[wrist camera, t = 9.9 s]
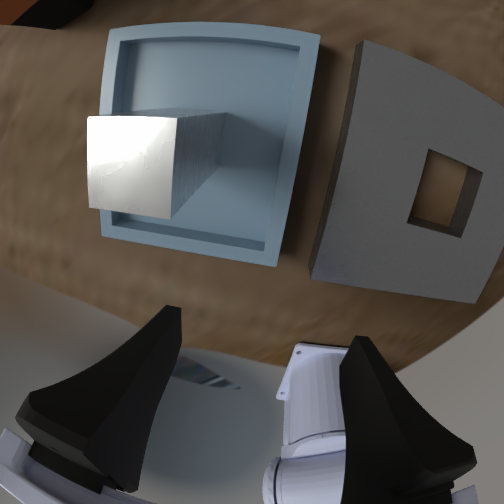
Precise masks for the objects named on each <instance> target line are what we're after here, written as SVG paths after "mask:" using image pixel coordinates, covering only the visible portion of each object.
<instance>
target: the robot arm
mask: <svg viewBox="0 0 504 504" xmlns="http://www.w3.org/2000/svg"><path fill="white" fill-rule="evenodd" d="M181 343H182V330H181V308H179V307H174V306H170V305H166V306H164V307H163V308H162V309H161V310H160V311H159V312H158V313H157V314H156V315H155V316H154V317H153V318H152V319H151V320H150V321H149V322H148V323H147V324H146V325H145V326H144V327H143V328H142V329H140V330H139V331H138V332H137V333H136V334H135V335H134V336H133V337H131V338H130V339H129V340H128V341H126V342H125V343H124V344H123V345H121V346H120V347H119V348H118V349H117V350H115V351H114V352H112V353H111V354H110V355H108V356H107V357H105V358H104V359H102V360H101V361H99V362H98V363H96V364H94V365H93V366H91V367H89V368H87V369H86V370H84V371H82V372H80V373H78V374H76V375H74V376H72V377H70V378H68V379H65V380H64V381H61V382H59V383H56V384H54V385H51V386H48V387H45V388H42V389H39V390H36V391H32V392H30V393H29V395H28V396H27V397H26V399H25V401H24V402H23V404H22V406H21V408H20V409H19V411H18V413H17V415H16V417H15V419H16V421H17V422H18V424H19V425H20V426H21V427H22V428H23V429H24V430H25V431H26V432H27V433H28V434H29V435H30V436H31V437H32V438H33V439H34V442H33V444H32V445H31V444H29V443H28V442H27V441H25V440H24V439H23V438H21V437H20V436H18V435H17V434H15V433H14V432H12V431H11V430H10V429H8V428H5V429H4V431H3V433H2V435H1V436H0V485H1V486H2V487H3V488H4V489H5V490H7V491H8V492H9V493H10V494H12V495H13V496H14V497H16V498H17V499H18V500H19V501H21V502H22V503H23V504H155V503H152V502H149V501H146V500H142V499H139V498H136V497H133V496H130V495H128V494H125V493H122V492H120V491H117V490H116V489H118V490H121V491H123V492H124V491H126V492H128V493H132V492H135V491H137V490H138V486H139V480H140V474H141V468H142V464H143V459H144V455H145V449H146V446H147V442H148V438H149V434H150V430H151V426H152V423H153V419H154V416H155V412H156V410H157V407H158V404H159V402H160V399H161V397H162V395H163V392H164V390H165V388H166V385H167V383H168V380H169V378H170V376H171V373H172V371H173V369H174V366H175V364H176V361H177V357H178V354H179V350H180V347H181ZM298 351H300V352H298ZM276 398H277V399H279V400H285V405H284V406H285V407H284V436H283V442H284V446H282V451H281V453H282V454H281V456H280V457H275V458H274V459H273V460H272V461H271V463H270V464H269V465H268V467H267V469H266V471H265V474H264V479H263V499H264V504H478V499H477V494H476V489H475V486H474V485H472V486H470V487H467V488H465V489H462V490H460V491H457V492H455V493H453V494H451V490H450V489H452V488H454V482H453V481H454V480H456V479H457V478H459V477H461V476H462V475H464V474H465V473H467V472H468V471H470V470H471V469H473V468H474V467H475V465H476V464H477V460H476V457H475V452H474V449H473V446H471V445H470V444H468V443H466V442H465V441H463V440H462V439H460V438H458V437H457V436H455V435H454V434H452V433H451V432H450V431H449V430H447V429H446V428H445V427H443V426H442V425H441V424H440V423H439V422H437V421H436V420H435V419H434V418H433V417H432V416H431V415H429V413H428V412H427V411H426V410H424V409H423V408H422V406H421V405H420V404H419V403H418V402H417V401H416V400H415V399H414V398H413V397H412V395H411V394H410V393H409V392H408V391H407V389H406V388H405V387H404V386H403V384H402V383H401V382H400V381H399V379H398V378H397V377H396V375H395V374H394V372H393V371H392V370H391V368H390V367H389V365H388V364H387V363H386V361H385V360H384V358H383V357H382V355H381V354H380V352H379V351H378V350H377V348H376V347H375V345H374V344H373V342H372V341H371V340H370V338H369V337H366V336H356V335H355V337H354V339H353V341H352V343H351V345H350V347H349V348H341V347H332V346H322V345H314V344H306V343H298V344H296V345H295V348H294V350H293V353H292V356H291V359H290V361H289V364H288V366H287V369H286V372H285V374H284V377H283V379H282V382H281V385H280V387H279V389H278V392H277V394H276Z"/></svg>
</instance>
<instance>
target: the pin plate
mask: <svg viewBox="0 0 504 504" xmlns="http://www.w3.org/2000/svg"><path fill="white" fill-rule="evenodd" d="M428 149H431V150H433V151H436V152H438V153H441V154H443V155H446V156H448V157H450V158H453V159H455V160H457V161H459V162H462V163H464V164H466V165H468V166H469V167H468V170H467V174H466V177H465V181H464V184H463V188H462V191H461V194H460V197H459V200H458V203H457V206H456V209H455V212H454V215H453V218H452V220H451V223H450V226H449V227H447V226H443V225H440V224H437V223H433V222H430V221H426V220H423V219H419V218H415V217H412V216H409V214H410V211H411V208H412V205H413V202H414V199H415V195H416V192H417V189H418V186H419V182H420V179H421V175H422V172H423V168H424V164H425V160H426V156H427V152H428ZM503 247H504V107H502V106H501V105H500V104H498V103H497V102H495V101H494V100H492V99H491V98H489V97H487V96H486V95H484V94H483V93H481V92H479V91H478V90H476V89H474V88H473V87H471V86H469V85H468V84H466V83H464V82H462V81H461V80H459V79H457V78H455V77H453V76H451V75H449V74H447V73H446V72H444V71H442V70H440V69H437V68H435V67H433V66H431V65H429V64H427V63H425V62H423V61H420V60H418V59H416V58H413V57H411V56H409V55H406V54H404V53H401V52H399V51H396V50H393V49H391V48H388V47H385V46H382V45H380V44H377V43H374V42H371V41H368V40H363V41H361V42H360V43H359V44H357V45H356V48H355V55H354V61H353V67H352V73H351V79H350V85H349V91H348V96H347V102H346V107H345V112H344V117H343V122H342V127H341V132H340V137H339V142H338V147H337V151H336V156H335V160H334V165H333V169H332V174H331V178H330V182H329V186H328V191H327V195H326V199H325V203H324V207H323V211H322V215H321V219H320V223H319V227H318V230H317V234H316V238H315V242H314V245H313V249H312V253H311V256H310V260H309V264H308V266H309V273H310V279H312V280H318V281H324V282H331V283H337V284H343V285H350V286H356V287H362V288H369V289H375V290H382V291H389V292H395V293H402V294H409V295H416V296H422V297H429V298H437V299H444V300H451V301H458V302H465V303H473V304H475V303H476V301H477V299H478V298H479V296H480V294H481V292H482V290H483V288H484V287H485V285H486V283H487V281H488V279H489V277H490V275H491V273H492V271H493V269H494V267H495V264H496V262H497V260H498V258H499V256H500V254H501V251H502V249H503Z"/></svg>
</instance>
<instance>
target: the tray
mask: <svg viewBox="0 0 504 504" xmlns="http://www.w3.org/2000/svg"><path fill="white" fill-rule="evenodd" d="M319 42H320V35H317V34H312V33H307V32H302V31H297V30H291V29H285V28H278V27H271V26H263V25H253V24H242V23H225V22H174V23H158V24H147V25H137V26H129V27H122V28H116V29H110V32H109V37H108V43H107V49H106V56H105V62H104V70H103V78H102V88H101V99H100V113H99V115H104V114H111V113H119V112H127V111H137V110H147V109H160V108H185V109H199V110H211V111H221V112H226V119H225V127H224V134H223V142H222V149H221V157H220V166H219V168H218V169H217V170H216V171H215V172H214V173H213V174H212V175H211V176H210V177H209V178H208V179H207V180H206V181H205V182H204V183H203V185H202V186H201V187H200V188H199V189H198V190H197V191H196V192H195V193H194V194H193V195H192V196H191V197H190V199H189V200H188V201H187V202H186V203H185V204H184V205H183V206H182V207H181V208H180V210H179V211H178V212H177V213H176V214H175V215H174V216H173V217H172V219H171V220H169V219H163V218H156V217H150V216H143V215H137V214H130V213H124V212H117V211H111V210H104V209H100V218H101V230H102V236H105V237H111V238H116V239H121V240H127V241H132V242H138V243H143V244H148V245H154V246H159V247H165V248H170V249H176V250H181V251H187V252H193V253H198V254H204V255H209V256H215V257H221V258H226V259H232V260H238V261H244V262H249V263H255V264H261V265H267V266H273V267H276V266H277V261H278V256H279V252H280V247H281V243H282V238H283V233H284V229H285V224H286V219H287V214H288V210H289V205H290V200H291V195H292V190H293V185H294V180H295V175H296V170H297V165H298V160H299V155H300V150H301V144H302V139H303V134H304V128H305V123H306V118H307V112H308V107H309V101H310V95H311V90H312V84H313V78H314V72H315V66H316V60H317V54H318V48H319Z"/></svg>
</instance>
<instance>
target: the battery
mask: <svg viewBox="0 0 504 504" xmlns="http://www.w3.org/2000/svg"><path fill="white" fill-rule="evenodd" d="M92 4H93V0H0V25H16V26H27V27H37V28H44V29H52V30H56V29H58V28H59V27H61V26H62V25H64V24H65V23H66V22H68V21H69V20H71V19H72V18H74V17H75V16H77V15H79V14H80V13H82V12H83V11H85V10H87V9H88V8H90V7H91V6H92Z"/></svg>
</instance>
